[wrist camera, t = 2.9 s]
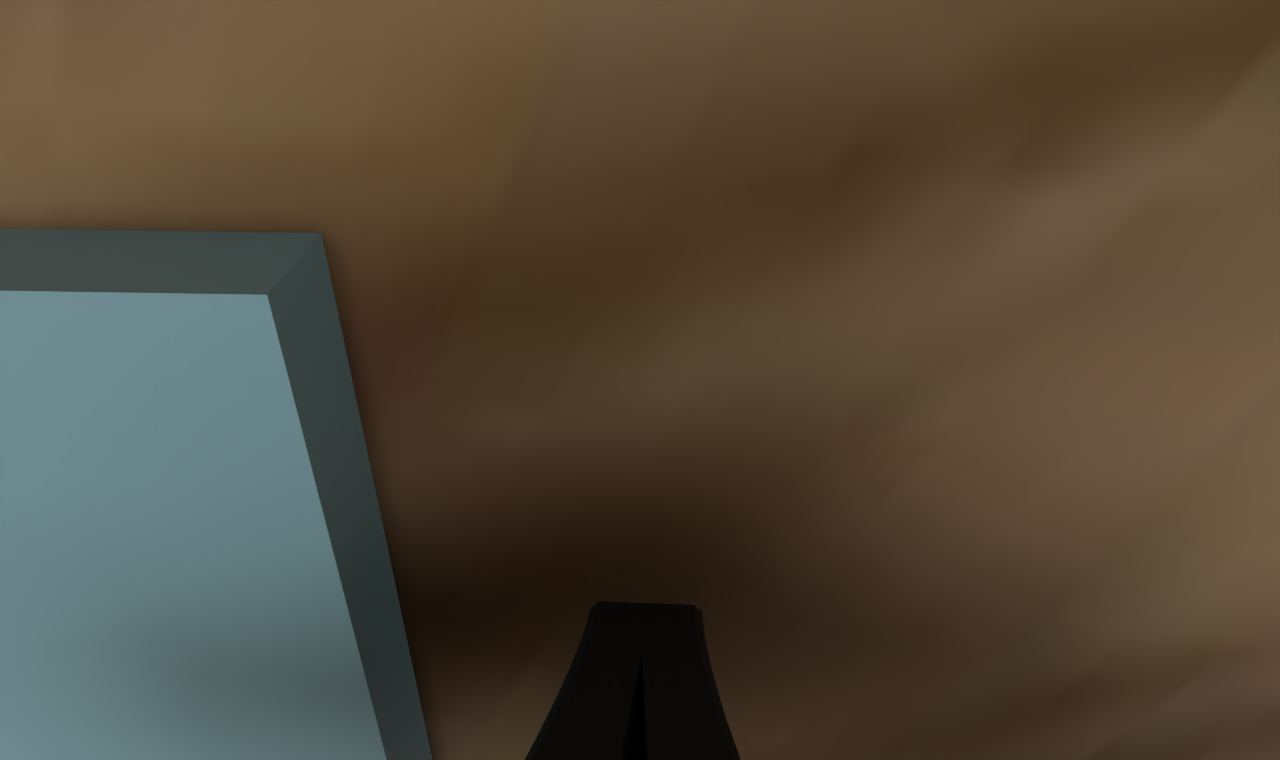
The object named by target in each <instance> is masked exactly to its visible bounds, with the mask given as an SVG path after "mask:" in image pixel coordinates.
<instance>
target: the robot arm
mask: <svg viewBox="0 0 1280 760" xmlns="http://www.w3.org/2000/svg"><path fill="white" fill-rule="evenodd" d="M525 760H740V757H739V754H738V751H737V748H736V745H735V743H734V740H733V737H732V734H731V731H730V728H729V726H728V723H727V720H726V717H725V714H724V710H723V707H722V704H721V701H720V698H719V694H718V690H717V687H716V683H715V679H714V676H713V672H712V668H711V664H710V660H709V656H708V651H707V646H706V641H705V634H704V628H703V619H702V611H701V610H699V609H698V608H697V607H696V606H695V605H685V604H656V603H628V602H598V603H597V604H596V605H594V606H593V607H591V610H590V614H589V617H588V621H587V624H586V627H585V630H584V633H583V636H582V639H581V642H580V644H579V647H578V649H577V652H576V654H575V657H574V659H573V662H572V664H571V667H570V669H569V671H568V673H567V676H566V678H565V680H564V682H563V685H562V687H561V689H560V691H559V694H558V696H557V698H556V700H555V702H554V704H553V706H552V708H551V710H550V712H549V714H548V716H547V718H546V720H545V722H544V724H543V726H542V728H541V730H540V732H539V734H538V736H537V738H536V740H535V742H534V744H533V746H532V747H531V749H530V751H529V753H528V755H527V757H526V758H525Z"/></svg>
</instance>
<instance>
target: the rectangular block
mask: <svg viewBox="0 0 1280 760" xmlns="http://www.w3.org/2000/svg"><path fill="white" fill-rule="evenodd" d="M0 760H432V755H431V750H430V746H429V741H428V736H427V731H426V727H425V722H424V717H423V713H422V708H421V703H420V698H419V694H418V689H417V684H416V679H415V675H414V670H413V665H412V660H411V656H410V651H409V646H408V641H407V637H406V632H405V627H404V623H403V618H402V613H401V608H400V604H399V599H398V594H397V589H396V585H395V580H394V575H393V570H392V566H391V561H390V556H389V551H388V547H387V542H386V537H385V533H384V528H383V523H382V518H381V514H380V509H379V504H378V499H377V495H376V490H375V485H374V480H373V476H372V471H371V466H370V461H369V457H368V452H367V447H366V443H365V438H364V433H363V428H362V424H361V419H360V414H359V409H358V405H357V400H356V395H355V390H354V386H353V381H352V376H351V371H350V367H349V362H348V357H347V353H346V348H345V343H344V338H343V334H342V329H341V324H340V319H339V315H338V310H337V305H336V300H335V296H334V291H333V286H332V281H331V277H330V272H329V267H328V263H327V258H326V253H325V248H324V244H323V239H322V234H321V233H293V232H225V231H156V230H87V229H19V228H0Z"/></svg>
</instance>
